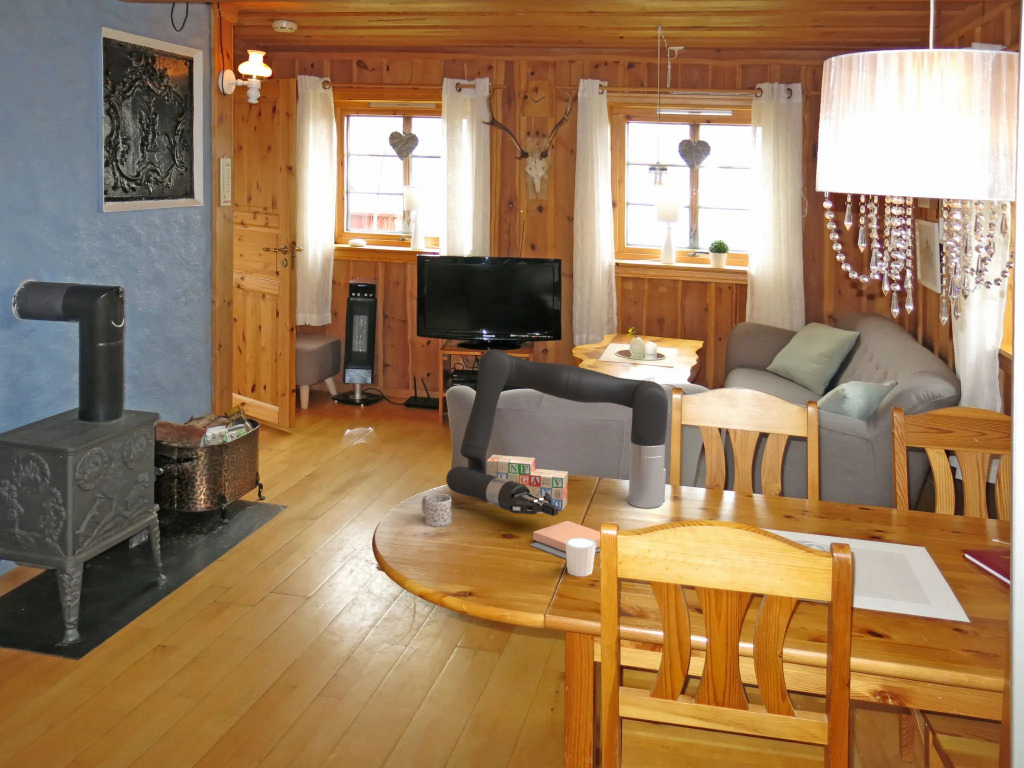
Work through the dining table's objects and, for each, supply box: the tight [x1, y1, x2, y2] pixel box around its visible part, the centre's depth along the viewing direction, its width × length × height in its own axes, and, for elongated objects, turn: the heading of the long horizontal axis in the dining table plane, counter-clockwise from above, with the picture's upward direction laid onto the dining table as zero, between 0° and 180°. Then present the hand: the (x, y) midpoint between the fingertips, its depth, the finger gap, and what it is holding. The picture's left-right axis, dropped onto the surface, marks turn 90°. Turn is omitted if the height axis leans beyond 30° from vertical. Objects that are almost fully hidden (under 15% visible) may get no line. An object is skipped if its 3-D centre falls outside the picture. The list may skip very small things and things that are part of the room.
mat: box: [530, 541, 601, 561], centre depth 249 cm, size 16×14×1 cm
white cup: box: [566, 538, 596, 578], centre depth 233 cm, size 7×7×7 cm
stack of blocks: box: [486, 454, 569, 512], centre depth 279 cm, size 21×6×12 cm, turn 74°
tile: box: [532, 520, 601, 552], centre depth 250 cm, size 12×2×14 cm
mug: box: [421, 493, 452, 528], centre depth 265 cm, size 10×7×7 cm
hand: (556, 511), depth 252 cm, fingers closed
